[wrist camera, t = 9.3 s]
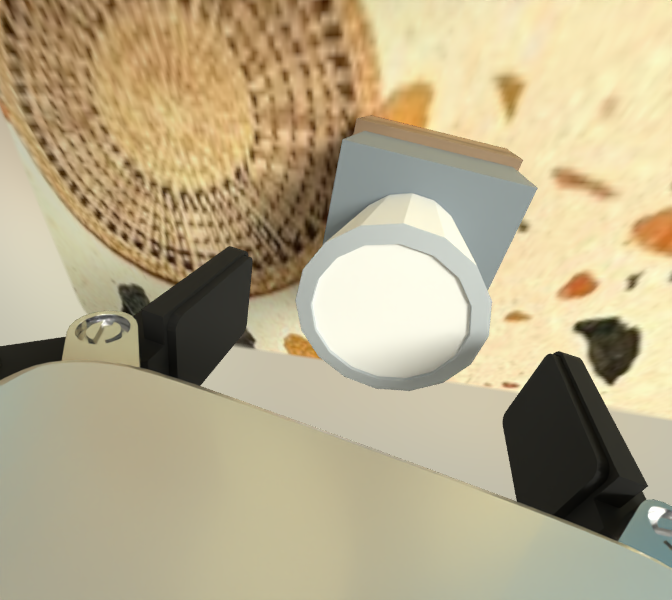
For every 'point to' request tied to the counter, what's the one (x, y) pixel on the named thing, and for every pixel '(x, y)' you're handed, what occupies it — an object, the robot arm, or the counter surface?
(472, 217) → the slate top block
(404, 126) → the walnut base block
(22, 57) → the counter surface
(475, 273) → the shot glass
